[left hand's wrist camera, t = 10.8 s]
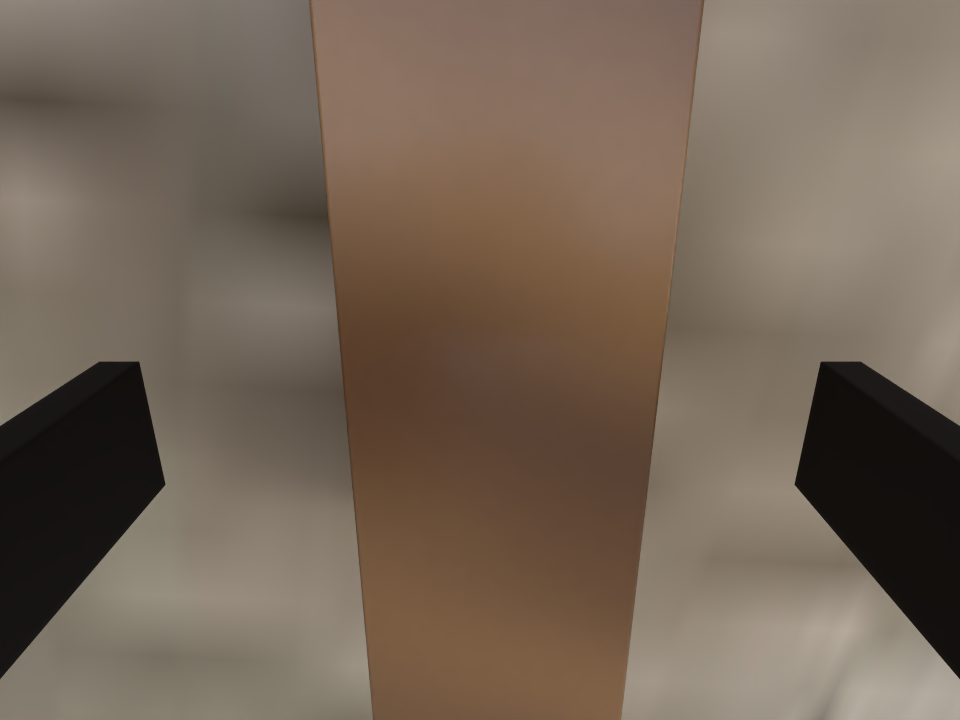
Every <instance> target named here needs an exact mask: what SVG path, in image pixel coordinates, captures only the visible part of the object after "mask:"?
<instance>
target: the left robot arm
mask: <svg viewBox="0 0 960 720" xmlns="http://www.w3.org/2000/svg"><path fill="white" fill-rule="evenodd" d="M164 486H165V481H164V476H163V471H162V466H161V462H160V457H159V452H158V448H157V443H156V438H155V434H154V429H153V424H152V420H151V415H150V410H149V406H148V401H147V396H146V391H145V387H144V382H143V377H142V373H141V368H140V363H139V362H98V363H97V364H95V365H94V366H92V367H90V368H89V369H87V370H86V371H84V372H83V373H81V374H80V375H78V376H77V377H75V378H73V379H72V380H70V381H69V382H67V383H66V384H64V385H63V386H61V387H60V388H58V389H57V390H55V391H53V392H52V393H50V394H49V395H47V396H46V397H44V398H43V399H41V400H40V401H38V402H37V403H35V404H33V405H32V406H30V407H29V408H27V409H26V410H24V411H23V412H21V413H20V414H18V415H17V416H15V417H13V418H12V419H10V420H9V421H7V422H6V423H4V424H3V425H1V426H0V679H1V678H2V676H3V675H4V674H5V673H6V672H7V670H8V669H9V668H10V667H11V666H12V665H13V663H14V662H15V661H16V660H17V659H18V658H19V656H20V655H21V654H22V653H23V652H24V650H25V649H26V648H27V647H28V646H29V645H30V643H31V642H32V641H33V640H34V639H35V637H36V636H37V635H38V634H39V633H40V632H41V630H42V629H43V628H44V627H45V626H46V625H47V623H48V622H49V621H50V620H51V619H52V617H53V616H54V615H55V614H56V613H57V612H58V610H59V609H60V608H61V607H62V606H63V605H64V603H65V602H66V601H67V600H68V599H69V597H70V596H71V595H72V594H73V593H74V592H75V590H76V589H77V588H78V587H79V586H80V585H81V583H82V582H83V581H84V580H85V579H86V577H87V576H88V575H89V574H90V573H91V572H92V570H93V569H94V568H95V567H96V566H97V565H98V563H99V562H100V561H101V560H102V559H103V557H104V556H105V555H106V554H107V553H108V552H109V550H110V549H111V548H112V547H113V546H114V545H115V543H116V542H117V541H118V540H119V539H120V537H121V536H122V535H123V534H124V533H125V532H126V530H127V529H128V528H129V527H130V526H131V525H132V523H133V522H134V521H135V520H136V519H137V517H138V516H139V515H140V514H141V513H142V512H143V510H144V509H145V508H146V507H147V506H148V505H149V503H150V502H151V501H152V500H153V499H154V497H155V496H156V495H157V494H158V493H159V492H160V490H161V489H162V488H163V487H164ZM795 486H796V487H797V488H798V489H799V490H800V492H801V493H802V494H803V495H804V496H805V497H806V499H807V500H808V501H809V502H810V503H811V505H812V506H813V507H814V508H815V509H816V510H817V512H818V513H819V514H820V515H821V516H822V517H823V519H824V520H825V521H826V522H827V523H828V525H829V526H830V527H831V528H832V529H833V530H834V532H835V533H836V534H837V535H838V536H839V537H840V539H841V540H842V541H843V542H844V543H845V545H846V546H847V547H848V548H849V549H850V550H851V552H852V553H853V554H854V555H855V556H856V557H857V559H858V560H859V561H860V562H861V563H862V565H863V566H864V567H865V568H866V569H867V570H868V572H869V573H870V574H871V575H872V576H873V577H874V579H875V580H876V581H877V582H878V583H879V585H880V586H881V587H882V588H883V589H884V590H885V592H886V593H887V594H888V595H889V596H890V597H891V599H892V600H893V601H894V602H895V603H896V605H897V606H898V607H899V608H900V609H901V610H902V612H903V613H904V614H905V615H906V616H907V617H908V619H909V620H910V621H911V622H912V623H913V625H914V626H915V627H916V628H917V629H918V630H919V632H920V633H921V634H922V635H923V636H924V638H925V639H926V640H927V641H928V642H929V643H930V645H931V646H932V647H933V648H934V649H935V650H936V652H937V653H938V654H939V655H940V656H941V658H942V659H943V660H944V661H945V662H946V663H947V665H948V666H949V667H950V668H951V669H952V670H953V672H954V673H955V674H956V675H957V676H958V678H959V679H960V426H959V425H957V424H956V423H954V422H953V421H951V420H950V419H948V418H947V417H945V416H943V415H942V414H940V413H939V412H937V411H936V410H934V409H933V408H931V407H930V406H928V405H927V404H925V403H923V402H922V401H920V400H919V399H917V398H916V397H914V396H913V395H911V394H910V393H908V392H907V391H905V390H903V389H902V388H900V387H899V386H897V385H896V384H894V383H893V382H891V381H890V380H888V379H887V378H885V377H883V376H882V375H880V374H879V373H877V372H876V371H874V370H873V369H871V368H870V367H868V366H866V365H865V364H863V363H862V362H821V363H820V368H819V373H818V377H817V382H816V387H815V391H814V396H813V401H812V406H811V410H810V415H809V420H808V424H807V429H806V434H805V438H804V443H803V448H802V452H801V457H800V462H799V466H798V471H797V476H796V481H795Z"/></svg>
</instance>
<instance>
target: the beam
mask: <svg viewBox="0 0 960 720" xmlns="http://www.w3.org/2000/svg"><path fill="white" fill-rule="evenodd" d="M309 4H310V15H311V27H312V38H313V49H314V60H315V72H316V83H317V94H318V105H319V116H320V128H321V139H322V150H323V161H324V173H325V184H326V195H327V206H328V218H329V229H330V240H331V251H332V263H333V274H334V285H335V296H336V307H337V319H338V330H339V341H340V352H341V364H342V375H343V386H344V397H345V409H346V420H347V431H348V442H349V454H350V465H351V476H352V487H353V498H354V510H355V521H356V532H357V543H358V555H359V566H360V577H361V588H362V600H363V611H364V622H365V633H366V645H367V656H368V667H369V678H370V689H371V701H372V712H373V720H621V715H622V706H623V698H624V689H625V680H626V672H627V663H628V654H629V646H630V637H631V628H632V620H633V611H634V602H635V594H636V585H637V577H638V568H639V559H640V551H641V542H642V533H643V525H644V516H645V507H646V499H647V490H648V482H649V473H650V464H651V456H652V447H653V438H654V430H655V421H656V412H657V404H658V395H659V386H660V378H661V369H662V361H663V352H664V343H665V335H666V326H667V317H668V309H669V300H670V291H671V283H672V274H673V266H674V257H675V248H676V240H677V231H678V222H679V214H680V205H681V196H682V188H683V179H684V170H685V162H686V153H687V145H688V136H689V127H690V119H691V110H692V101H693V93H694V84H695V75H696V67H697V58H698V50H699V41H700V32H701V24H702V15H703V6H704V0H309Z"/></svg>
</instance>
